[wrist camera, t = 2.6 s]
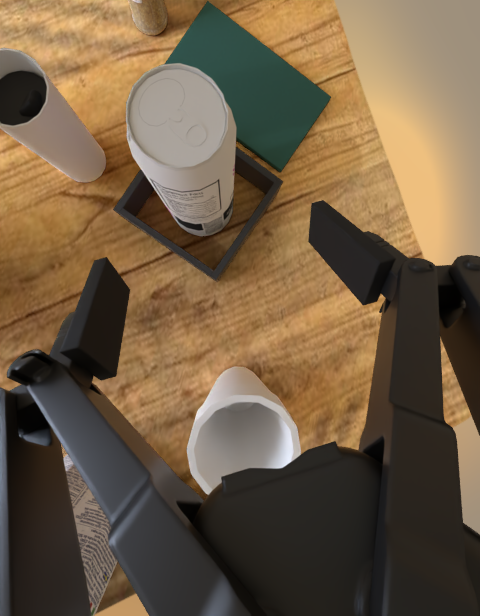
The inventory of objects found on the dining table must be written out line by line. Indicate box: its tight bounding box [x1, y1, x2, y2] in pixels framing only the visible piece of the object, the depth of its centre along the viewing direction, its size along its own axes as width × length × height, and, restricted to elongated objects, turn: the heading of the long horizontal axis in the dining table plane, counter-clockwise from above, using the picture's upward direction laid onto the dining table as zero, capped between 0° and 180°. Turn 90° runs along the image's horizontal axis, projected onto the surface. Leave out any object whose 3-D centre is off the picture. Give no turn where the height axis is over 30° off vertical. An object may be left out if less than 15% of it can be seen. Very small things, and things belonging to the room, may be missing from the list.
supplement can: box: [126, 63, 236, 236], centre depth 23 cm, size 8×8×15 cm
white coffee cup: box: [0, 48, 106, 183], centre depth 24 cm, size 7×7×10 cm
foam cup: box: [187, 366, 301, 495], centre depth 25 cm, size 10×9×13 cm
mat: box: [165, 1, 331, 172], centre depth 30 cm, size 20×12×1 cm, turn 56°
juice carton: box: [63, 455, 117, 616], centre depth 17 cm, size 9×10×27 cm
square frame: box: [113, 147, 283, 282], centre depth 29 cm, size 15×15×4 cm
